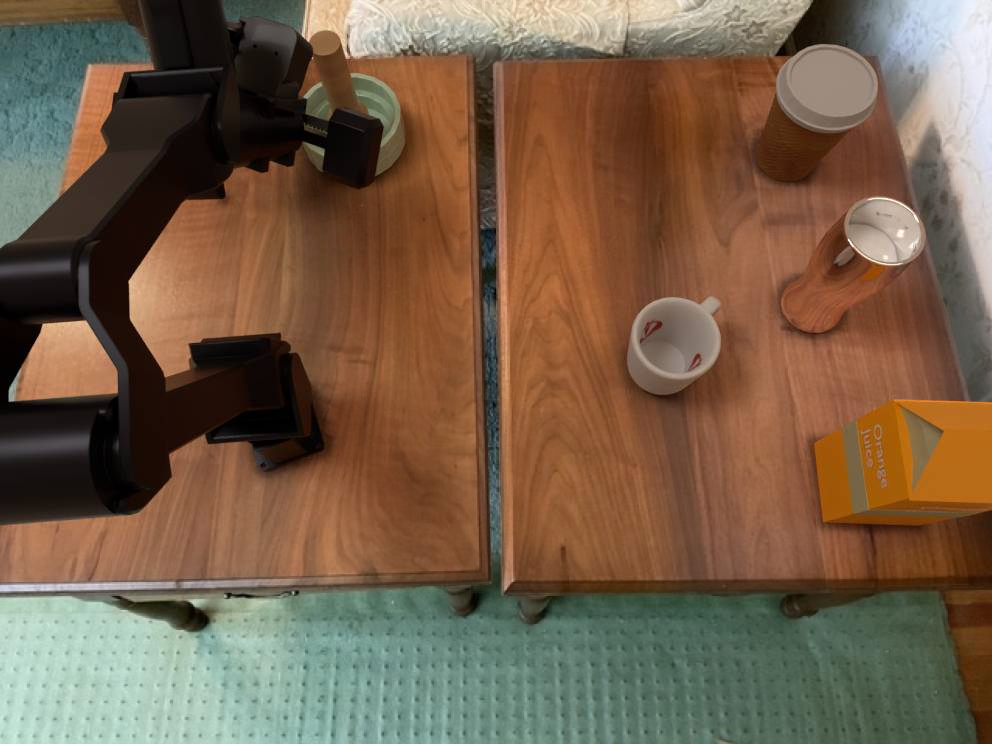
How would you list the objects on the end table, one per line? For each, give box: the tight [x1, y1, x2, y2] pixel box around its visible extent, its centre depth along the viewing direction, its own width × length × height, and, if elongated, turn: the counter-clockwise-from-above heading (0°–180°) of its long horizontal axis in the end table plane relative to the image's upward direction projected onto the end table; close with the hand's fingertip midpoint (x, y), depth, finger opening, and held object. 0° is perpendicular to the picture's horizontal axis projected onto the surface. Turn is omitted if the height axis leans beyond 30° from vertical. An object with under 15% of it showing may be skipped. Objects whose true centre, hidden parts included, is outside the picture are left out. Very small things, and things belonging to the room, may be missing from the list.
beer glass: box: [780, 195, 927, 334], centre depth 64 cm, size 7×7×15 cm
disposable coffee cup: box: [755, 43, 879, 183], centre depth 72 cm, size 10×10×12 cm
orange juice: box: [813, 398, 992, 527], centre depth 56 cm, size 8×9×20 cm
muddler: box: [308, 29, 369, 120], centre depth 72 cm, size 4×4×14 cm
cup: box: [626, 295, 722, 396], centre depth 66 cm, size 11×8×8 cm
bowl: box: [302, 72, 406, 177], centre depth 77 cm, size 11×11×4 cm
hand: (326, 119), depth 70 cm, fingers open, 9 cm apart
